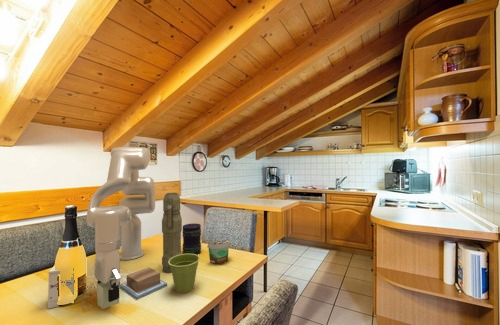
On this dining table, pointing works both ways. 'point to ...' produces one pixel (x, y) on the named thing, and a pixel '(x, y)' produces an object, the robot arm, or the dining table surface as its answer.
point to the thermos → (171, 229)
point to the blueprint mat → (144, 292)
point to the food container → (219, 252)
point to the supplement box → (53, 287)
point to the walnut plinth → (143, 279)
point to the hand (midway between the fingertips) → (108, 295)
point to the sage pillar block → (105, 295)
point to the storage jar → (191, 239)
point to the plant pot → (184, 271)
